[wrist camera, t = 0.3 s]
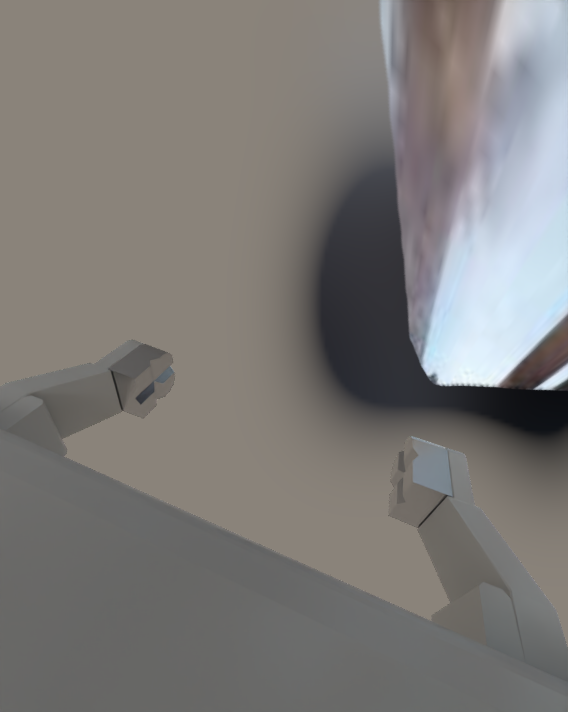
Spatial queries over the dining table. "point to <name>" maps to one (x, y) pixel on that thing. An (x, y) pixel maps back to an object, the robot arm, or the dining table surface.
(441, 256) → the dining table surface
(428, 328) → the dining table surface
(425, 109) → the dining table surface
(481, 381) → the dining table surface
